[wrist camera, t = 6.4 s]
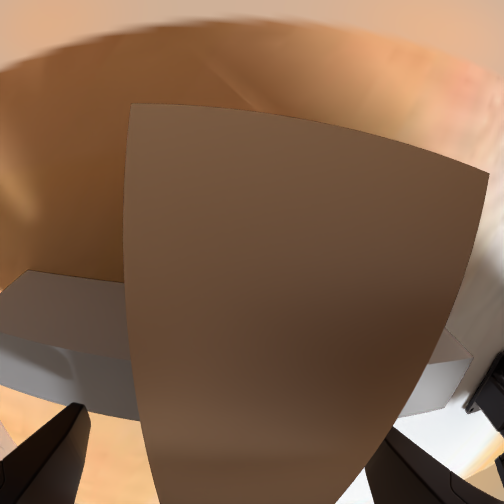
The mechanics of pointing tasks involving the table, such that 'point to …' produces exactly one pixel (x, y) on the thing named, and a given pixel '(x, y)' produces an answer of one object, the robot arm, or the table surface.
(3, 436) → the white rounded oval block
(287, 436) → the walnut slat
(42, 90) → the table surface
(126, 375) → the notched gray bar
